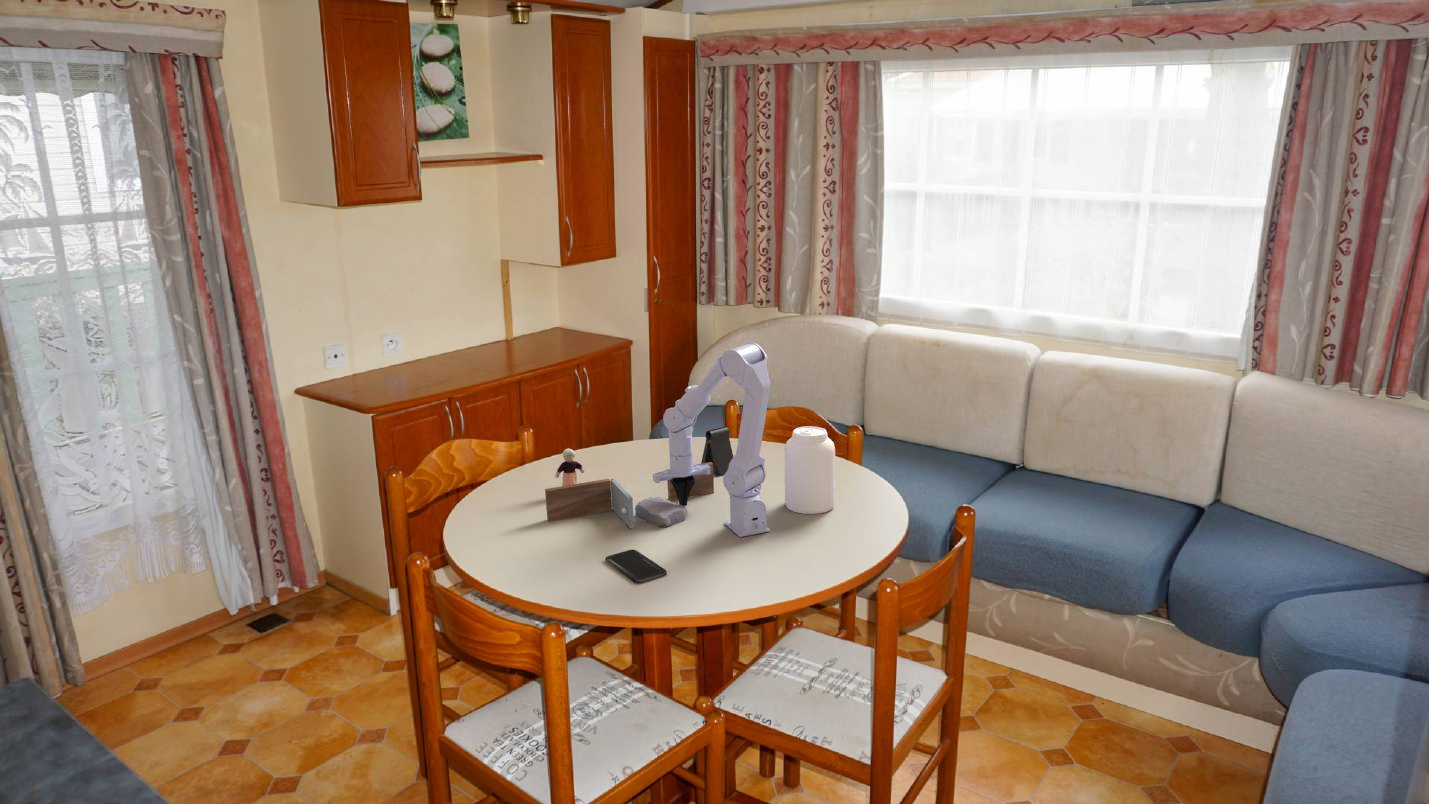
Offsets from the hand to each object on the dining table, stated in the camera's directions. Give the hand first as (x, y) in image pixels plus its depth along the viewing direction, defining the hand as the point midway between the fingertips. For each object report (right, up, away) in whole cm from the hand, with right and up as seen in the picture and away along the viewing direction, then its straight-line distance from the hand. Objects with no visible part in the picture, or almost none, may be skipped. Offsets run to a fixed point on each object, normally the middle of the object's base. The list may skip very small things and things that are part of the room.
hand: (682, 504), depth 246 cm
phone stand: (+9, +6, +29) cm, 31 cm away
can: (+32, -1, +2) cm, 32 cm away
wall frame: (-13, -1, +5) cm, 14 cm away
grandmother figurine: (-30, +1, +14) cm, 33 cm away
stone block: (-5, -3, -3) cm, 6 cm away
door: (-15, -3, -4) cm, 16 cm away
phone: (-9, -11, -30) cm, 34 cm away
